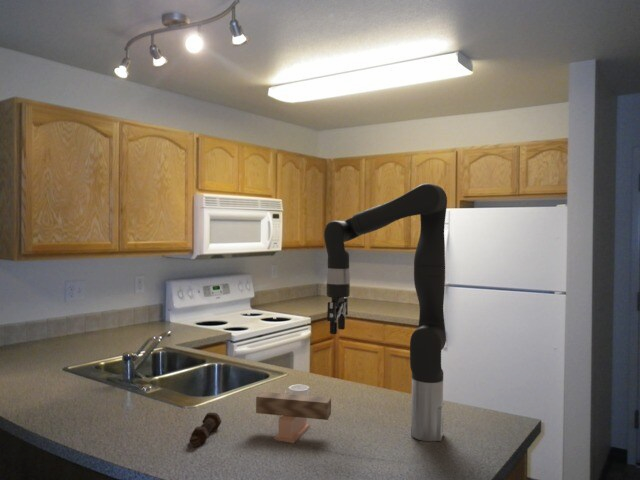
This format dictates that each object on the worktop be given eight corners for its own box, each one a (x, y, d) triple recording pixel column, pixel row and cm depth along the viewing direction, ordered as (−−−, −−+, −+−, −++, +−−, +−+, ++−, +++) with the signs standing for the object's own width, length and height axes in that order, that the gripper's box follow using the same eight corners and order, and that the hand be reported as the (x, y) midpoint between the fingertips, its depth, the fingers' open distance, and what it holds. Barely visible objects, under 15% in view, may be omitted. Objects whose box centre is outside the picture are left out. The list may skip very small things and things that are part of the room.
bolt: (191, 454, 148) (210, 432, 163) (206, 447, 147) (224, 425, 162) (181, 436, 148) (201, 415, 163) (196, 428, 148) (215, 408, 162)
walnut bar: (331, 414, 159) (331, 397, 159) (327, 420, 154) (327, 403, 154) (261, 407, 164) (261, 391, 164) (256, 413, 159) (256, 396, 159)
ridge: (309, 427, 164) (310, 407, 164) (293, 443, 152) (293, 422, 152) (291, 424, 167) (292, 405, 166) (274, 440, 154) (274, 419, 154)
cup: (299, 416, 174) (299, 391, 174) (277, 409, 180) (277, 385, 180) (313, 410, 179) (313, 386, 179) (291, 404, 185) (291, 381, 185)
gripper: (342, 284, 164) (342, 336, 165) (355, 280, 178) (354, 328, 178) (319, 283, 167) (319, 334, 167) (334, 279, 180) (333, 326, 181)
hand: (337, 331), depth 173 cm, fingers open, 8 cm apart
